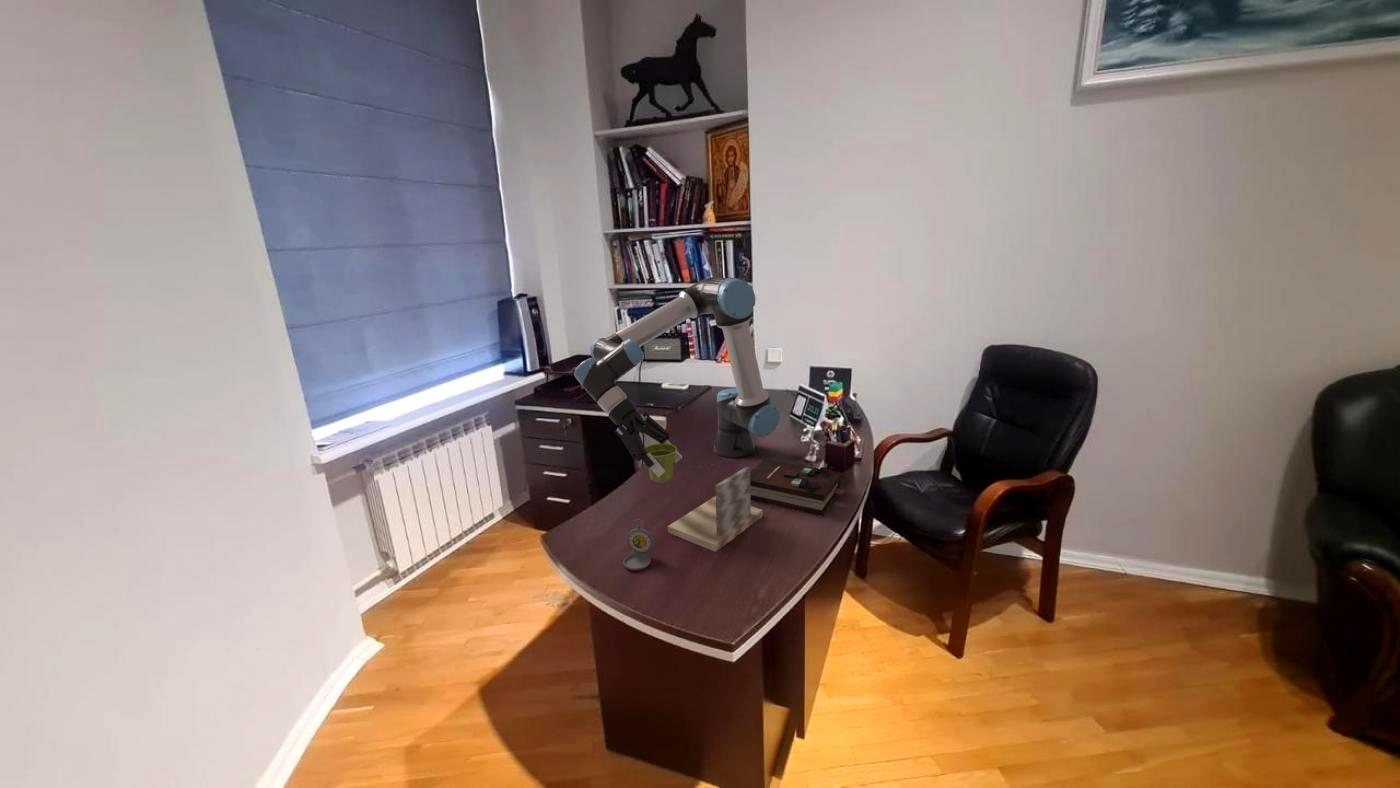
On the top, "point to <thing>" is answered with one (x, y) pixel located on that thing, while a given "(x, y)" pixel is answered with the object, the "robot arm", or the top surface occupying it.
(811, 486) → the decorative book
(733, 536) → the shelf board
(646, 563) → the pocket watch
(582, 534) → the top surface
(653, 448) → the plant pot
